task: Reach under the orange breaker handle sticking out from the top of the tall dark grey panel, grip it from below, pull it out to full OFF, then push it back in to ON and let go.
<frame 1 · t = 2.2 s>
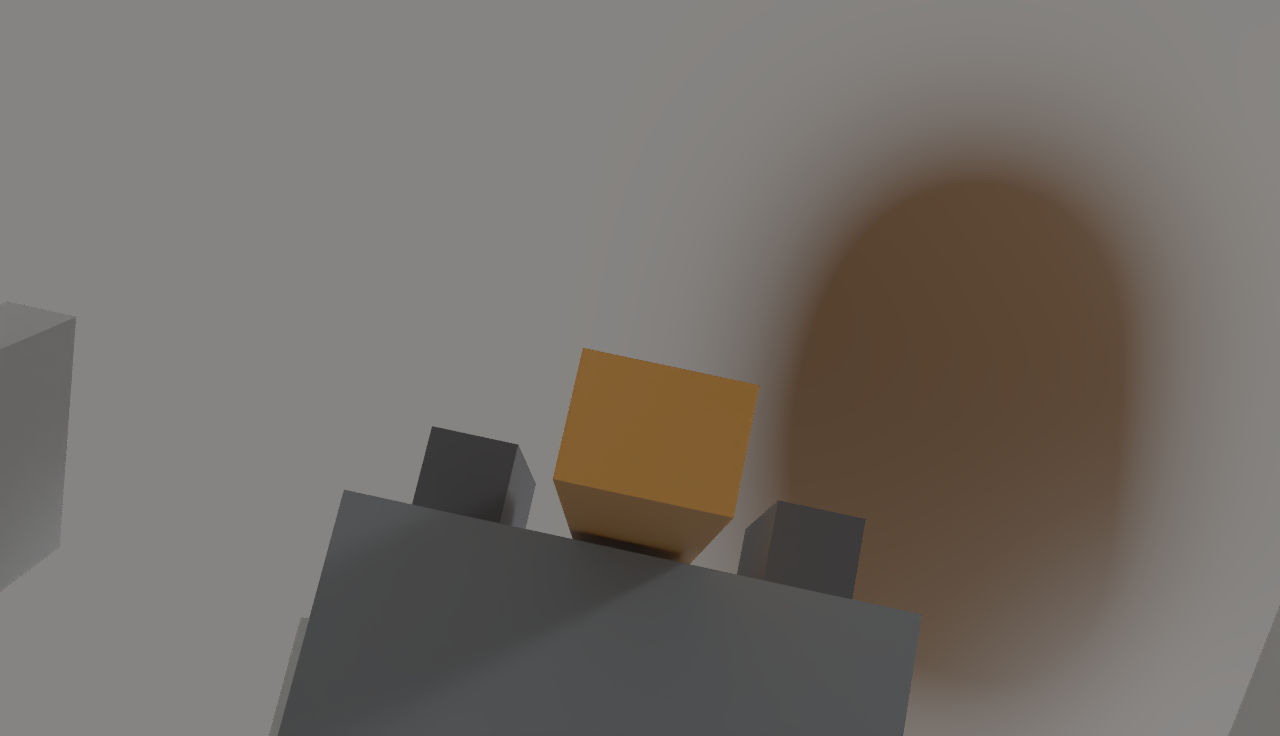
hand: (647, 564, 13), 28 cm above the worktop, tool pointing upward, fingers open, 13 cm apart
breaker handle: (645, 485, 35), point 32 cm above the worktop, slide at 4.0 cm
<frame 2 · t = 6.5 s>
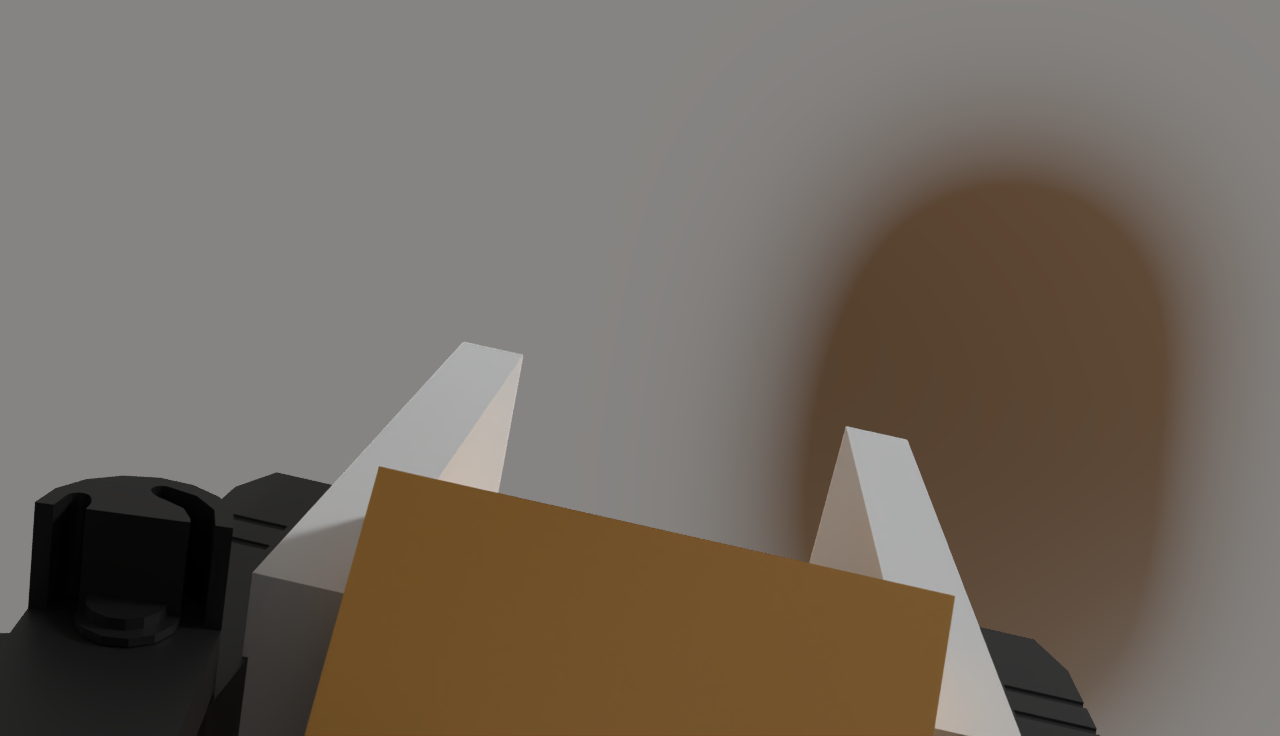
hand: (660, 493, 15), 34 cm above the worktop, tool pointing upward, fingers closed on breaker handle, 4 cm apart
breaker handle: (612, 706, 17), point 32 cm above the worktop, slide at 4.0 cm, touching gripper
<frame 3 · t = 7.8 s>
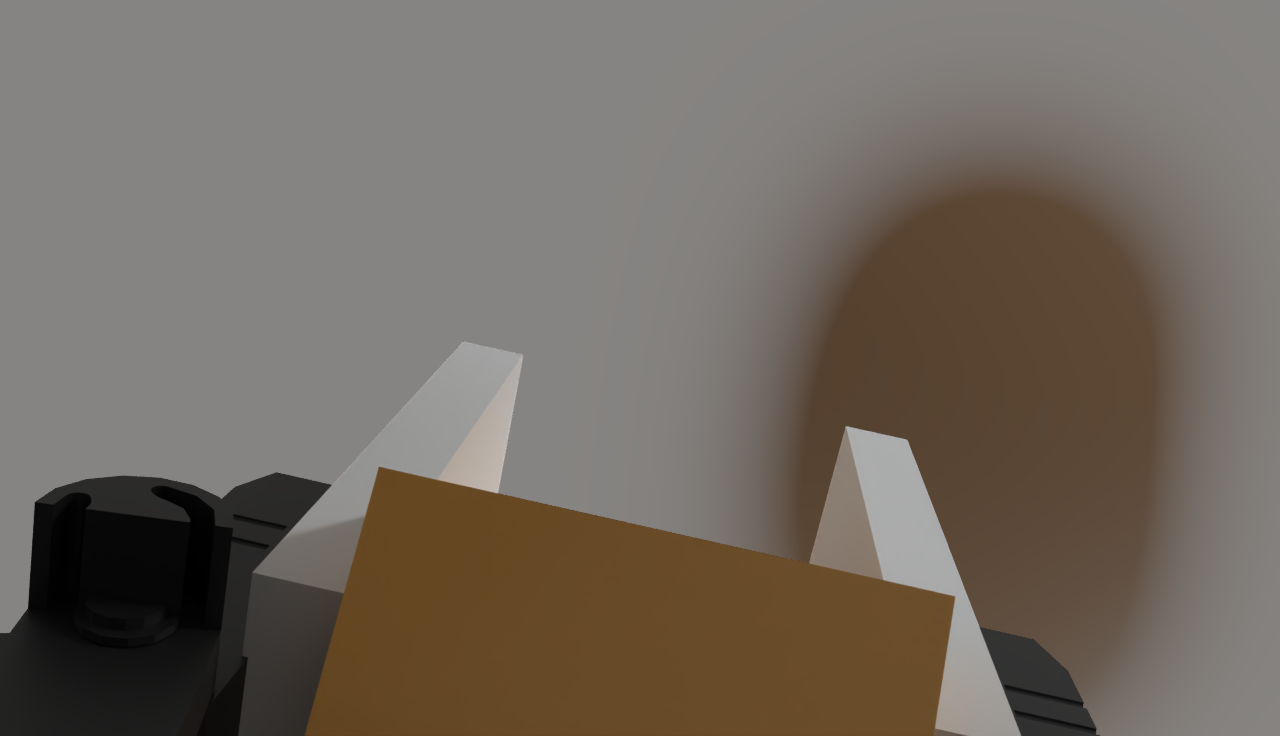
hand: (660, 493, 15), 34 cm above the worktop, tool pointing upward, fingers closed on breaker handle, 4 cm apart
breaker handle: (611, 706, 17), point 32 cm above the worktop, slide at 8.0 cm, touching gripper
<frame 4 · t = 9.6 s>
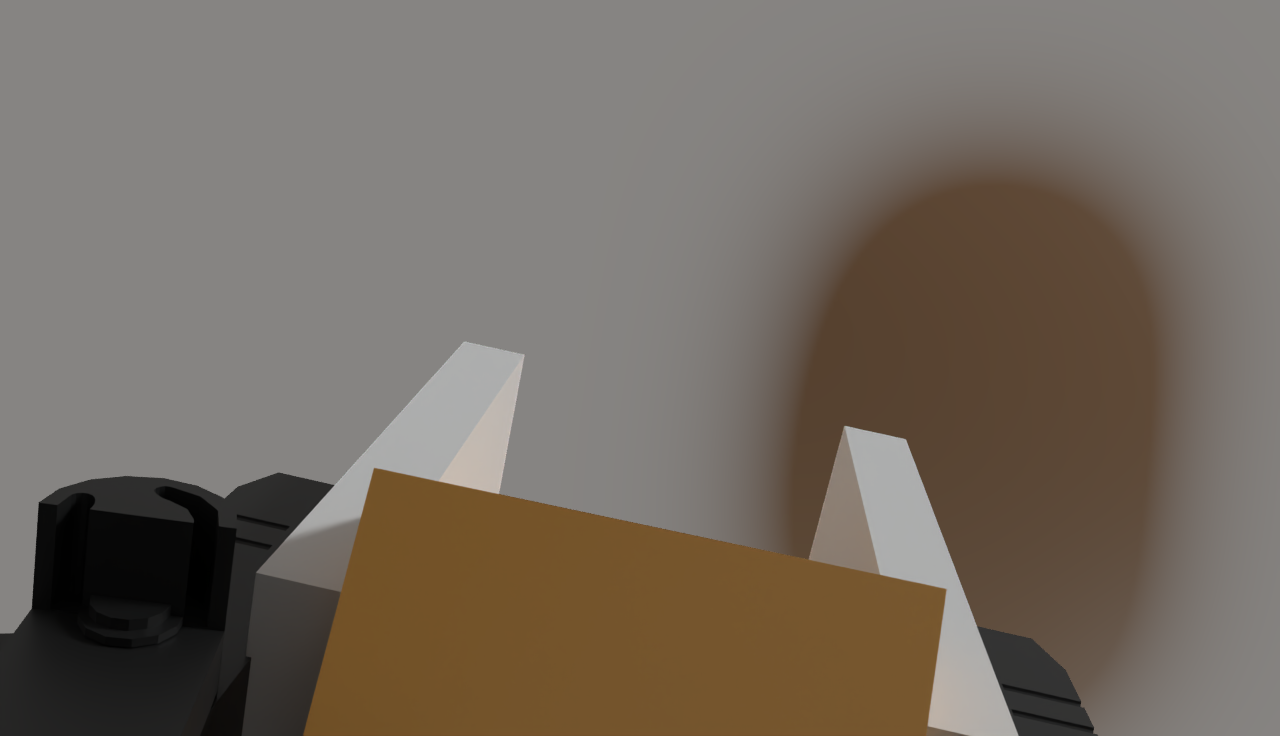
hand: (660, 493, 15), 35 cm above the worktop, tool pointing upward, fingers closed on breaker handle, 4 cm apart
breaker handle: (603, 710, 17), point 32 cm above the worktop, slide at 1.4 cm, touching gripper
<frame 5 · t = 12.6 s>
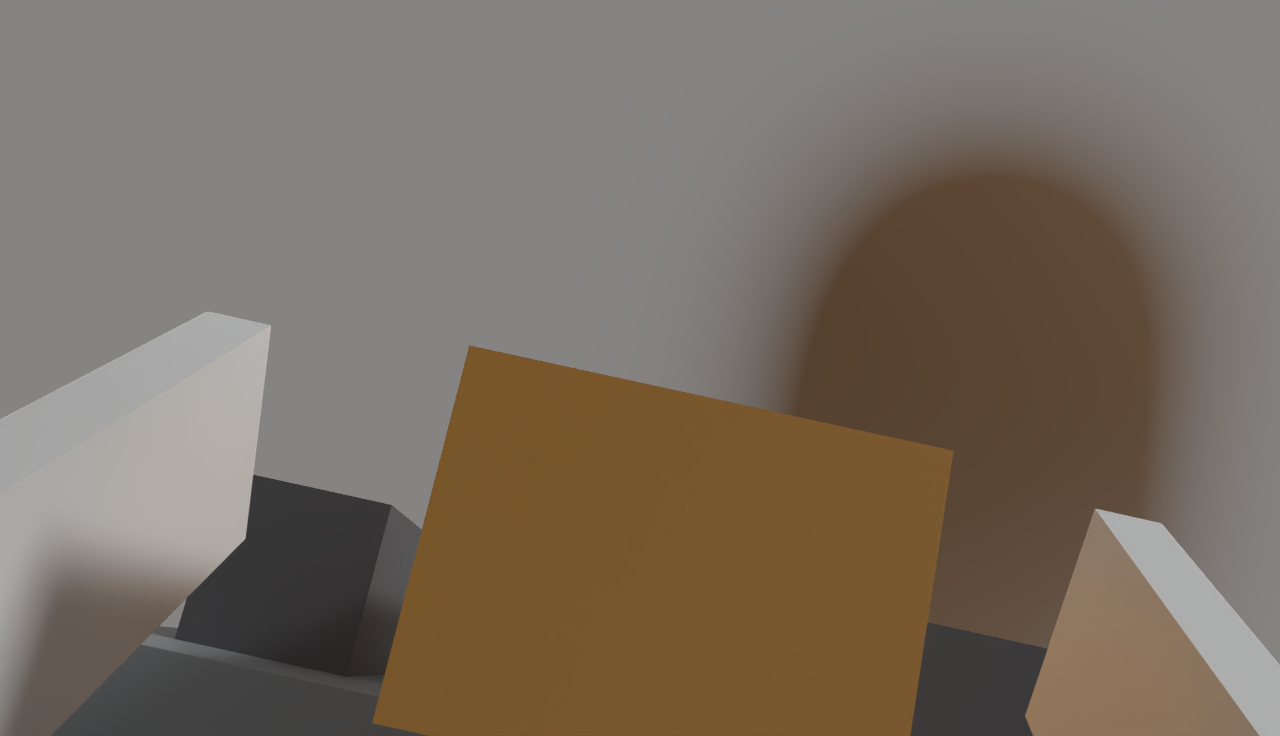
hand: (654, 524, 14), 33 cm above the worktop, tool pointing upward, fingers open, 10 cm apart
breaker handle: (632, 622, 18), point 32 cm above the worktop, slide at 1.4 cm
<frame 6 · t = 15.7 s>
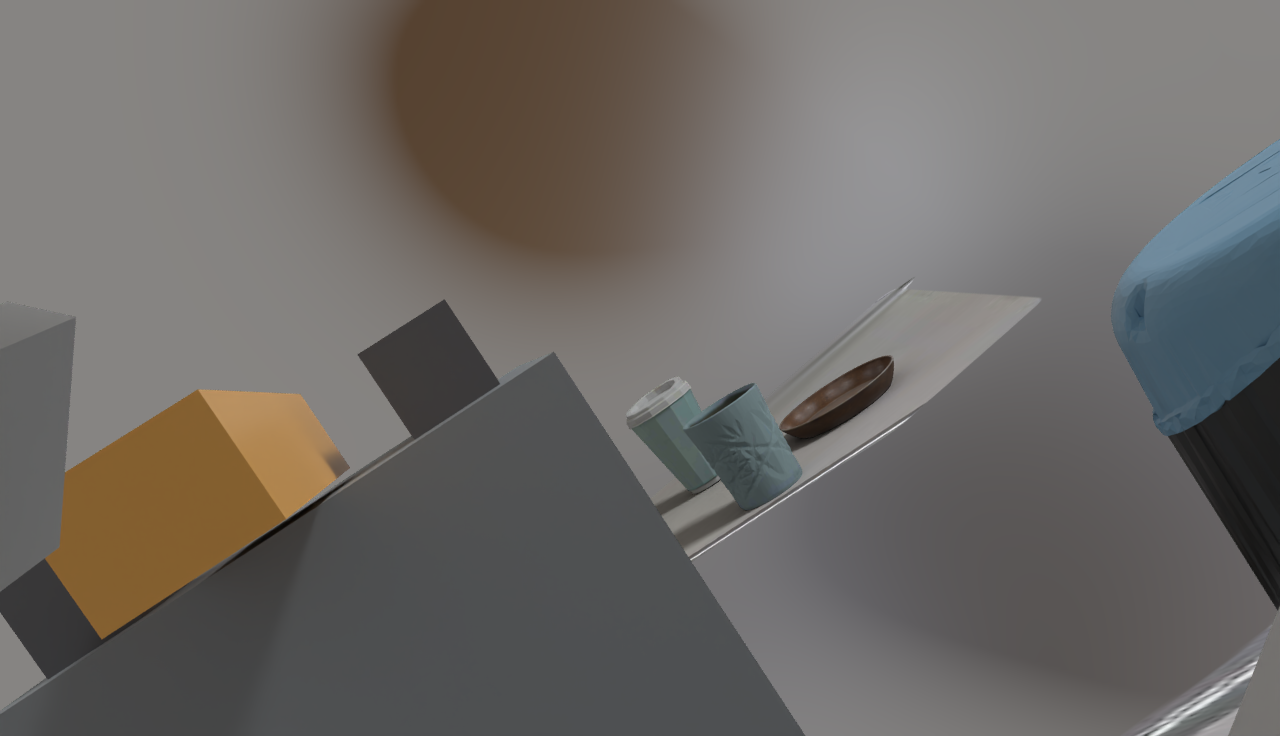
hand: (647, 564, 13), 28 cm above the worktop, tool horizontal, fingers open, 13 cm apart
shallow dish: (847, 411, 160), on the worktop
disposable coffee cup: (709, 484, 169), on the worktop
teal embossed cup: (773, 490, 143), on the worktop
breaker handle: (229, 481, 32), point 32 cm above the worktop, slide at 1.4 cm
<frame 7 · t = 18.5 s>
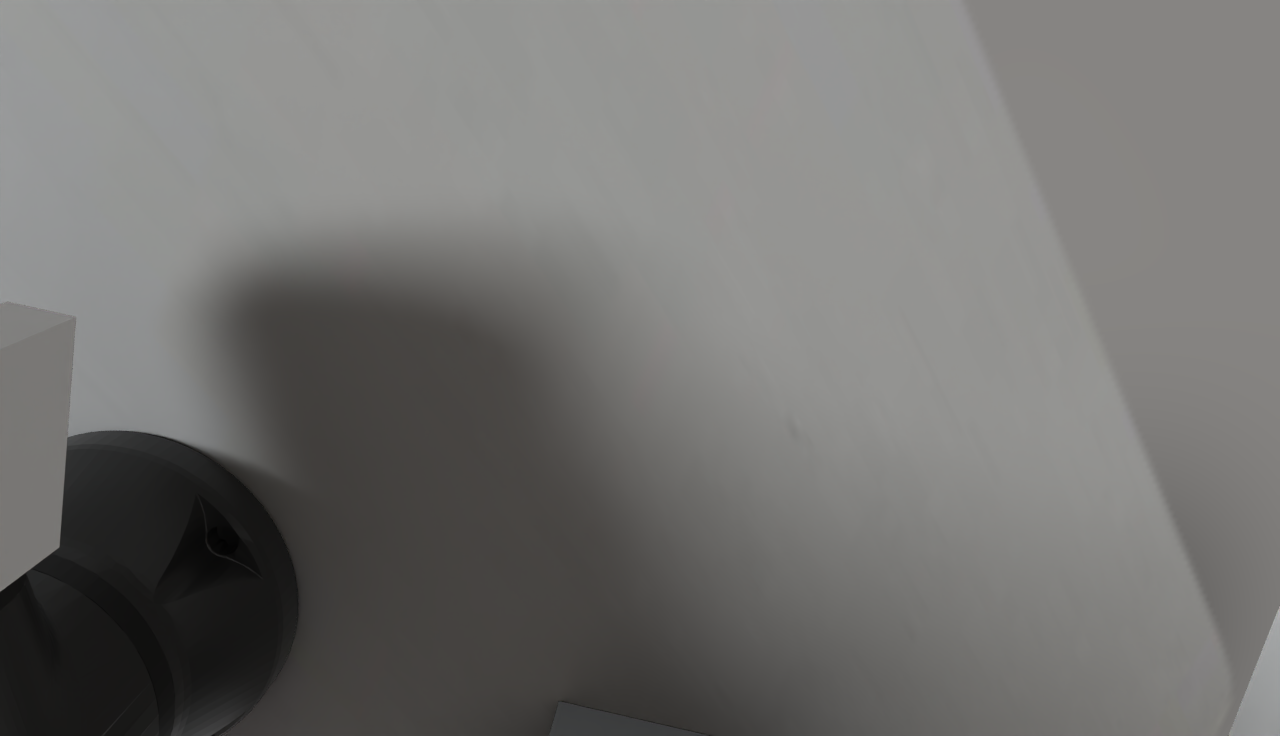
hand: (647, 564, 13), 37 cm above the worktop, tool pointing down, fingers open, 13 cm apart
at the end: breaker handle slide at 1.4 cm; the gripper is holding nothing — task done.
